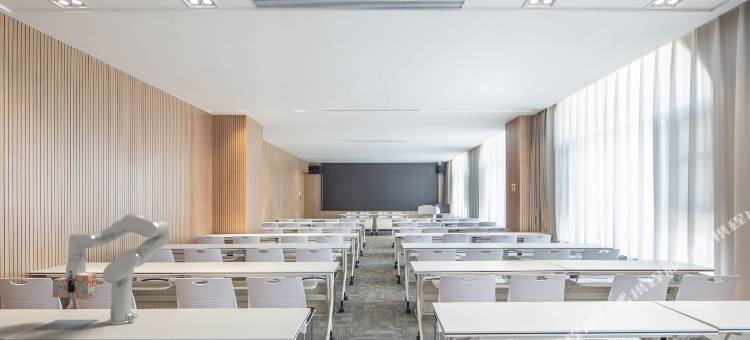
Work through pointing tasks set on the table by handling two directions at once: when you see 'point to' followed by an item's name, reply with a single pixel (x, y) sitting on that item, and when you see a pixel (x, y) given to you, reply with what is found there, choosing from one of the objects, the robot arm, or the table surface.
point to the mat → (67, 324)
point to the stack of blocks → (76, 287)
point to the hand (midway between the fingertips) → (75, 290)
